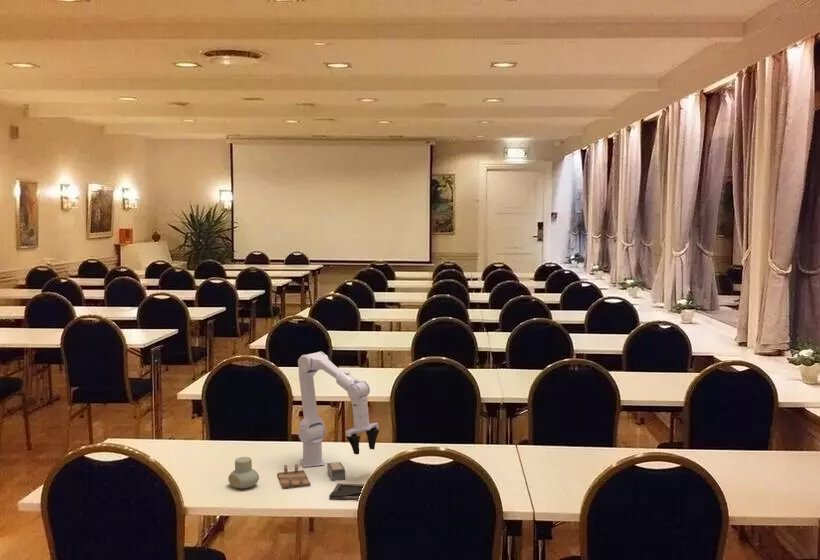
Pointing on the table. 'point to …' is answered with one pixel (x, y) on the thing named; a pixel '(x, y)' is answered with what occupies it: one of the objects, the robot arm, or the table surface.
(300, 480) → the pegged wooden board
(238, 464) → the air freshener
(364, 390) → the robot arm
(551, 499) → the table surface
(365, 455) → the table surface
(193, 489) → the table surface
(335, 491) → the picture frame
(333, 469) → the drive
